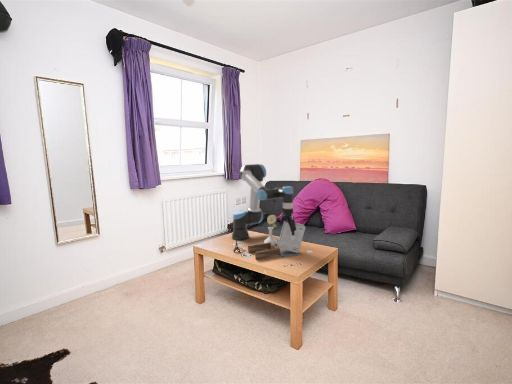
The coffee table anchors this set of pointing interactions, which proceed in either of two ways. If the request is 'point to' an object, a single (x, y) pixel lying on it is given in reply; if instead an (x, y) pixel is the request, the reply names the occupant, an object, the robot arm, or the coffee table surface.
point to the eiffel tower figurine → (238, 247)
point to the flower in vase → (271, 220)
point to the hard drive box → (285, 237)
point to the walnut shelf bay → (264, 254)
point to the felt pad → (288, 253)
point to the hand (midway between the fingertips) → (288, 237)
